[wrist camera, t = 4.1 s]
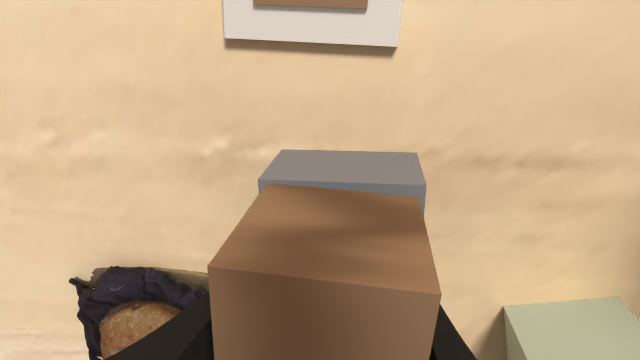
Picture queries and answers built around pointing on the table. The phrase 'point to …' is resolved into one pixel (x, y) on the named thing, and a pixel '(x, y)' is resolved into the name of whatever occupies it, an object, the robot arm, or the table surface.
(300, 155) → the base block
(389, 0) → the tile
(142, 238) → the table surface
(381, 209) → the walnut block
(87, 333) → the two-tone domed part
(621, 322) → the sage block
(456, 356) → the robot arm
